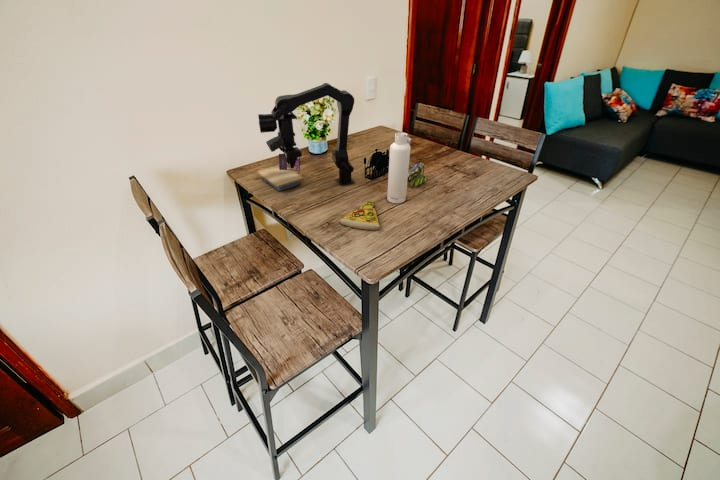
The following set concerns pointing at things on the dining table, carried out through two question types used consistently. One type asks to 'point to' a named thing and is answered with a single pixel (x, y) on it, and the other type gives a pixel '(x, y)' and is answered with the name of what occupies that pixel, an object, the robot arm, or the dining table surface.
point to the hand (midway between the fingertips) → (290, 166)
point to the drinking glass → (408, 140)
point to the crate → (283, 186)
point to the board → (279, 176)
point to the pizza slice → (362, 218)
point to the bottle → (398, 169)
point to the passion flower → (418, 177)
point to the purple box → (284, 163)
